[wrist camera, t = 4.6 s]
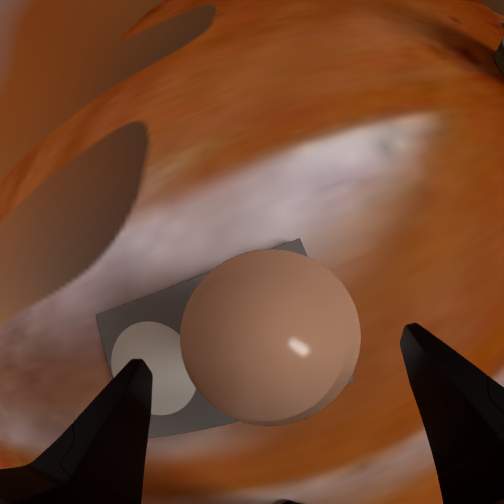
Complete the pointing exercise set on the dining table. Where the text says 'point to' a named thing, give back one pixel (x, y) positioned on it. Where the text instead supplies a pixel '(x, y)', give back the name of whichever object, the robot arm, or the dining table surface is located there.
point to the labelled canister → (500, 56)
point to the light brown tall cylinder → (270, 337)
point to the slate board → (164, 355)
